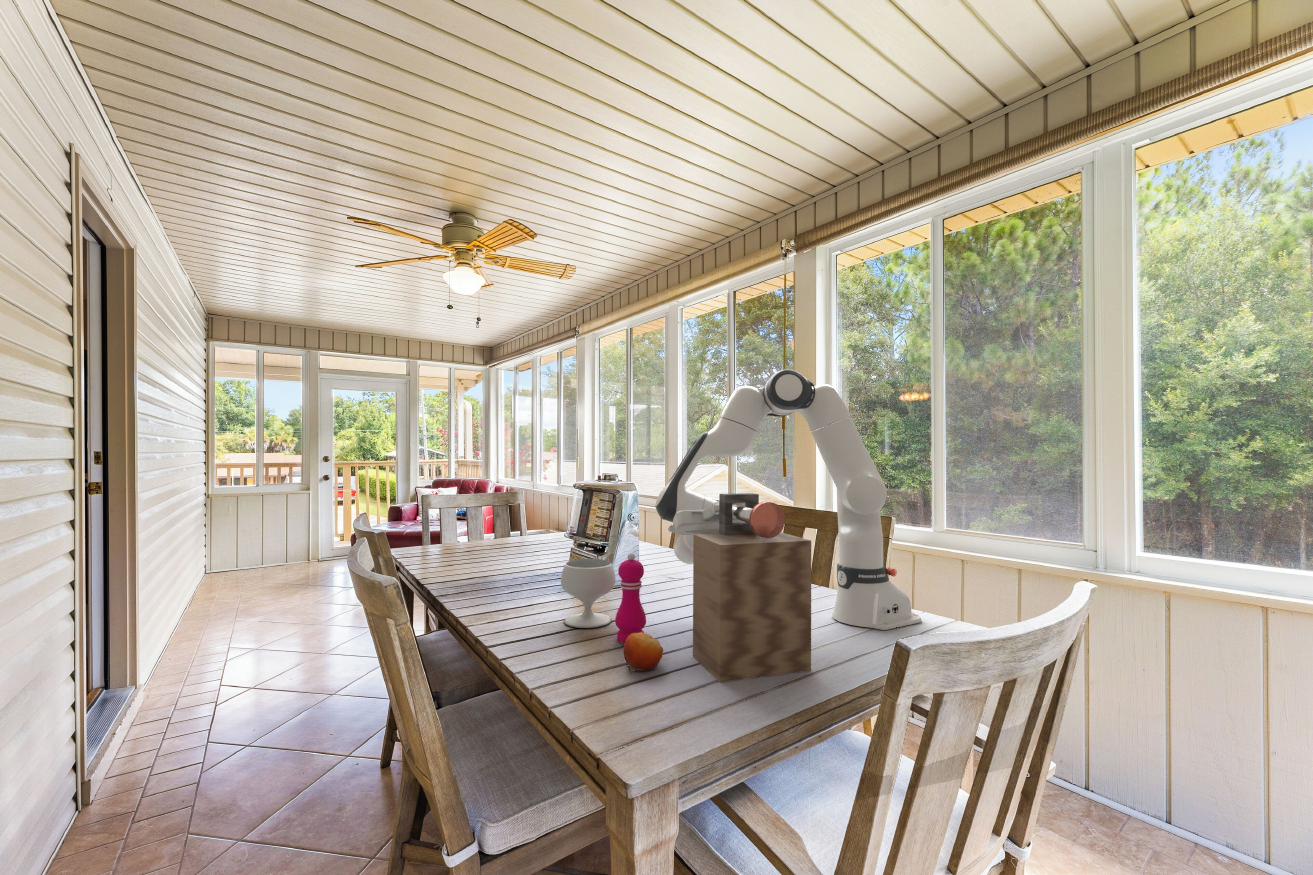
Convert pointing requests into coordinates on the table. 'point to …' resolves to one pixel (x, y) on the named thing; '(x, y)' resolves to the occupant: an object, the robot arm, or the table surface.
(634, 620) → the pepper mill
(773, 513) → the steel pin
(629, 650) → the fruit
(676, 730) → the table surface
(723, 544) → the walnut post
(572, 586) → the chalice
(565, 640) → the table surface
